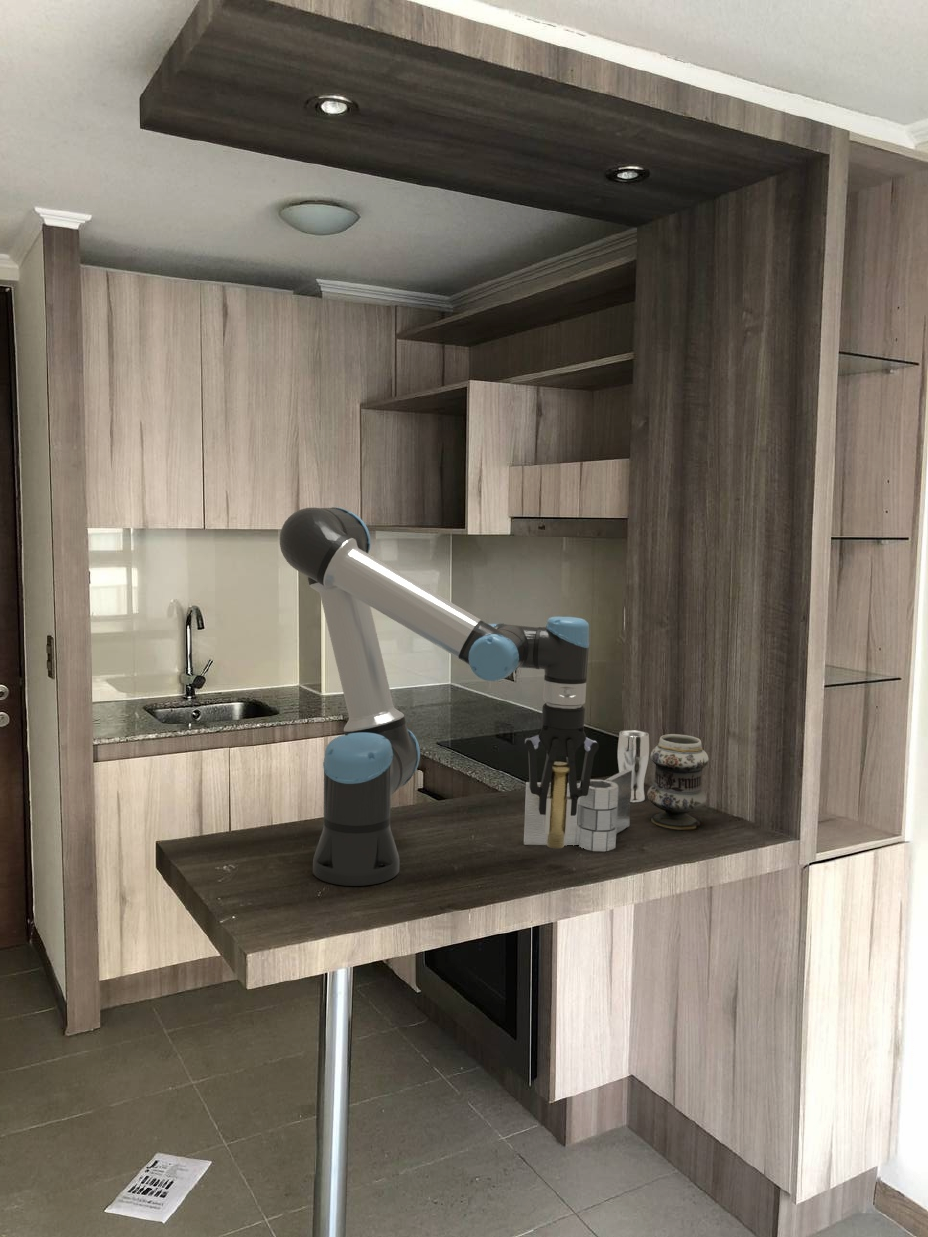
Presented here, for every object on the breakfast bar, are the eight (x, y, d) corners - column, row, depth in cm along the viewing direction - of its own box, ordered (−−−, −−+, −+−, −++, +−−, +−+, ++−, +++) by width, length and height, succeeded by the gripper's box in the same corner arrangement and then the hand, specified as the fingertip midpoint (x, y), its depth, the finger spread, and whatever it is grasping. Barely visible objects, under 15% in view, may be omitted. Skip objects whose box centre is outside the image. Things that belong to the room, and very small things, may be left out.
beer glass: (642, 804, 217) (645, 738, 216) (611, 800, 220) (614, 734, 219) (650, 796, 224) (653, 732, 222) (620, 792, 227) (623, 728, 225)
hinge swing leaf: (605, 852, 185) (607, 791, 184) (571, 844, 189) (574, 785, 188) (642, 829, 199) (645, 772, 198) (610, 822, 203) (613, 766, 202)
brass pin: (545, 849, 175) (550, 767, 174) (543, 841, 179) (547, 761, 178) (567, 849, 175) (572, 767, 174) (564, 842, 179) (569, 762, 178)
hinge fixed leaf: (525, 849, 186) (527, 788, 185) (522, 837, 193) (524, 778, 192) (617, 851, 186) (620, 790, 185) (611, 839, 193) (613, 779, 192)
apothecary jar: (697, 835, 197) (702, 748, 195) (639, 826, 202) (643, 740, 200) (710, 819, 208) (715, 736, 206) (654, 810, 213) (658, 729, 211)
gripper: (520, 706, 170) (513, 837, 173) (612, 710, 171) (603, 840, 174) (517, 698, 178) (510, 823, 181) (605, 702, 178) (596, 827, 181)
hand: (556, 831), depth 177 cm, fingers closed on brass pin, 3 cm apart
